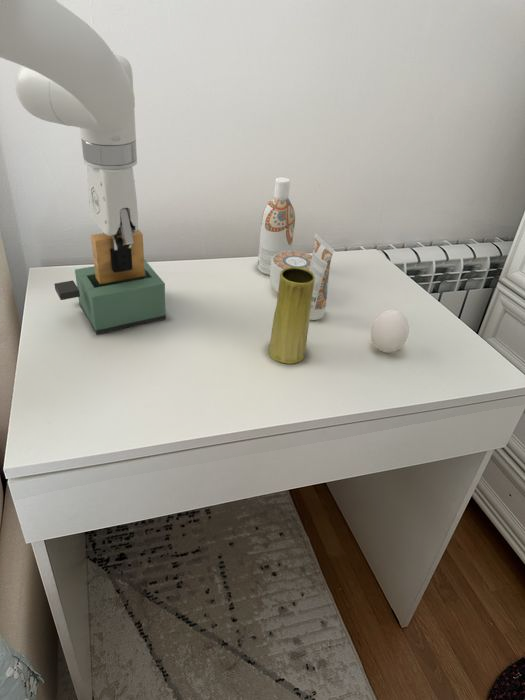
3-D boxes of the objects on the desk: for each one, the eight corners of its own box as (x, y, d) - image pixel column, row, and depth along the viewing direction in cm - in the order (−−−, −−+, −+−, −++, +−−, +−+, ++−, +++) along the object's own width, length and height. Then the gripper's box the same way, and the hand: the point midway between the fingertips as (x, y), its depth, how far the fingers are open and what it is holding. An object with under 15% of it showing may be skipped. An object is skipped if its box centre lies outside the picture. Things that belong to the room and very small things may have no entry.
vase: (294, 339, 90) (305, 263, 82) (312, 359, 86) (326, 281, 78) (261, 346, 88) (270, 268, 80) (278, 367, 84) (289, 287, 75)
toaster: (96, 334, 87) (92, 297, 82) (79, 305, 93) (74, 269, 89) (165, 319, 92) (165, 283, 88) (145, 292, 99) (143, 258, 95)
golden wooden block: (99, 284, 86) (95, 241, 82) (95, 277, 88) (90, 234, 83) (144, 276, 90) (142, 234, 85) (139, 269, 91) (137, 228, 87)
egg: (361, 340, 92) (370, 302, 88) (394, 338, 93) (405, 301, 89) (374, 361, 87) (384, 322, 83) (408, 359, 88) (420, 320, 84)
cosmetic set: (342, 321, 96) (363, 223, 85) (296, 328, 93) (311, 227, 82) (286, 260, 115) (297, 172, 104) (246, 264, 112) (253, 174, 101)
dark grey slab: (60, 300, 84) (59, 293, 83) (55, 289, 86) (54, 283, 85) (80, 296, 85) (79, 290, 84) (74, 286, 87) (73, 280, 87)
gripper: (68, 137, 81) (82, 249, 91) (101, 171, 70) (112, 293, 81) (117, 135, 84) (125, 243, 95) (155, 166, 73) (159, 284, 84)
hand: (119, 265), depth 88 cm, fingers closed on golden wooden block, 2 cm apart
